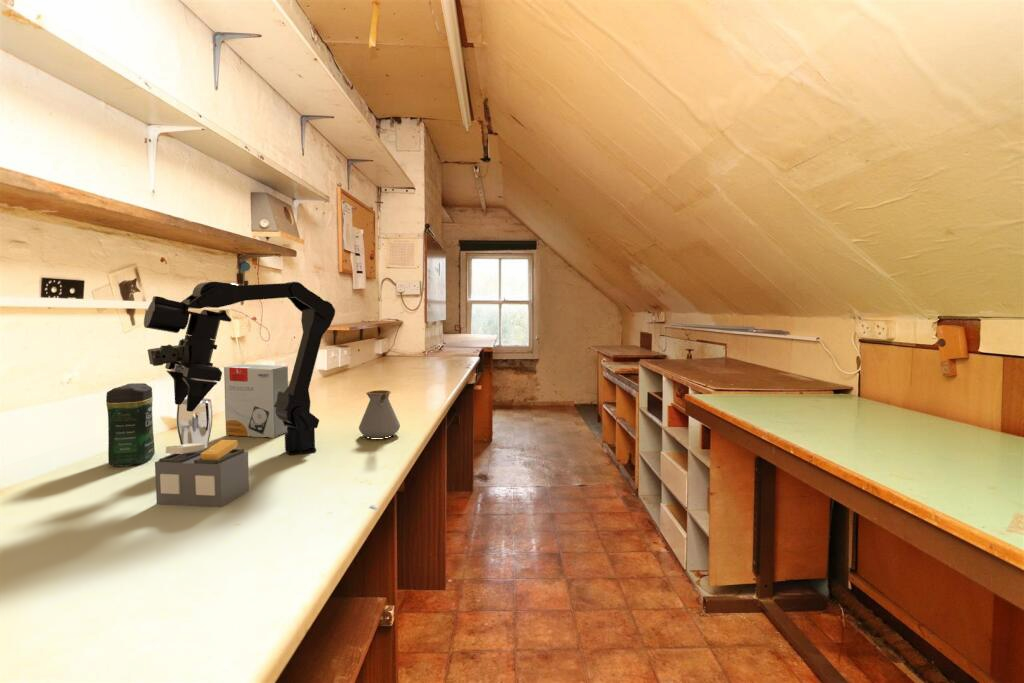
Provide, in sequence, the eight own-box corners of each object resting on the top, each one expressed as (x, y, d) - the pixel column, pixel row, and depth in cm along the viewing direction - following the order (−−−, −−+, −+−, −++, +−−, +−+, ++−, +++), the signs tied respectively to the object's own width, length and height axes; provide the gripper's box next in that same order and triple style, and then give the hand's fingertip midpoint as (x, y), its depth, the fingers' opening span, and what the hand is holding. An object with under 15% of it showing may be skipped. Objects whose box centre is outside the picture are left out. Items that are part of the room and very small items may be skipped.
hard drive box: (224, 436, 139) (222, 366, 137) (243, 429, 146) (241, 363, 145) (273, 438, 136) (271, 368, 135) (290, 431, 144) (288, 365, 142)
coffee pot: (358, 433, 143) (357, 382, 142) (397, 429, 147) (397, 380, 146) (361, 453, 123) (360, 395, 122) (407, 449, 127) (406, 392, 126)
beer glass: (195, 470, 109) (194, 405, 108) (169, 467, 111) (168, 402, 109) (219, 460, 116) (219, 399, 115) (194, 457, 117) (194, 396, 116)
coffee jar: (144, 465, 112) (140, 386, 111) (103, 469, 110) (98, 388, 108) (160, 453, 121) (157, 380, 120) (122, 456, 119) (118, 381, 118)
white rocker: (189, 449, 97) (190, 443, 97) (204, 450, 96) (204, 443, 97) (165, 453, 91) (166, 446, 91) (181, 453, 91) (182, 447, 91)
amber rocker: (222, 445, 96) (221, 439, 96) (238, 445, 96) (237, 439, 96) (201, 459, 90) (200, 453, 90) (217, 460, 90) (216, 454, 90)
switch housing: (188, 488, 99) (187, 447, 98) (249, 490, 97) (247, 449, 97) (155, 504, 90) (153, 459, 90) (220, 507, 89) (219, 462, 89)
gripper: (147, 327, 107) (129, 397, 105) (168, 332, 94) (148, 412, 93) (203, 337, 115) (187, 402, 113) (230, 343, 102) (212, 416, 101)
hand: (183, 407), depth 105 cm, fingers open, 9 cm apart
